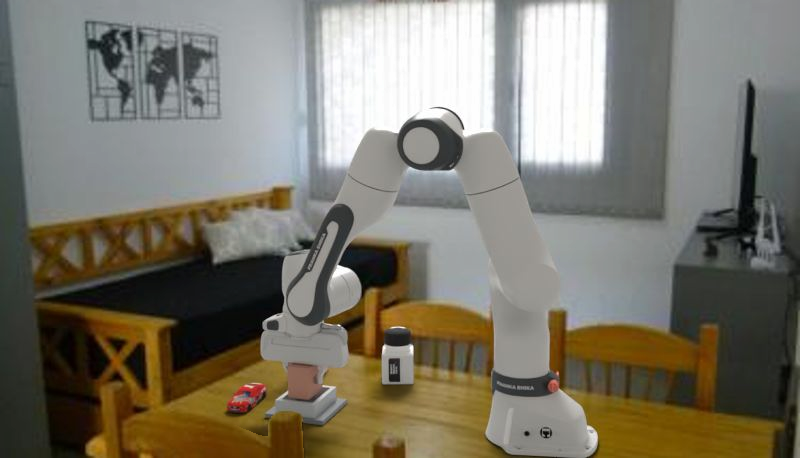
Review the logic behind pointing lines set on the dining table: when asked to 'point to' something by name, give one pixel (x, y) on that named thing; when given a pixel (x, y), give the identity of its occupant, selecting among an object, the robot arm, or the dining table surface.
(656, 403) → the dining table surface
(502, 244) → the robot arm
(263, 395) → the race car
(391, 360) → the container
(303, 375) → the pink upright box
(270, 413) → the square socket base
